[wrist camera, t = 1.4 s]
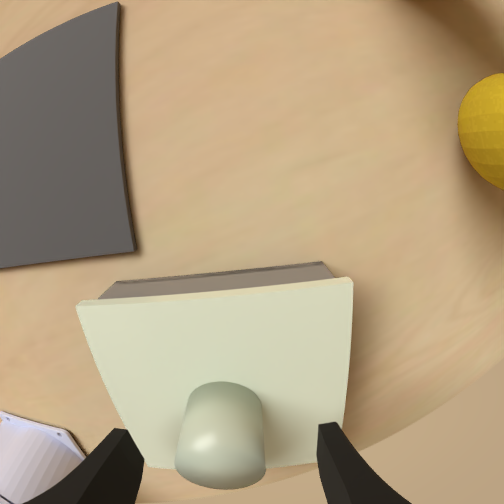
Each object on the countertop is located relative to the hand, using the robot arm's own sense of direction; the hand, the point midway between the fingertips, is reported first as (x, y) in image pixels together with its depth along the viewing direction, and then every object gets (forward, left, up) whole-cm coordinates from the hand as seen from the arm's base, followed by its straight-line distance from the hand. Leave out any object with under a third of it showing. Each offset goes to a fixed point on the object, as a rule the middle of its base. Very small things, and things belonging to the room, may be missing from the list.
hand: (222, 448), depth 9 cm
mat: (-10, +13, -6) cm, 18 cm away
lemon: (+14, +11, -6) cm, 19 cm away
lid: (0, 0, -4) cm, 4 cm away
